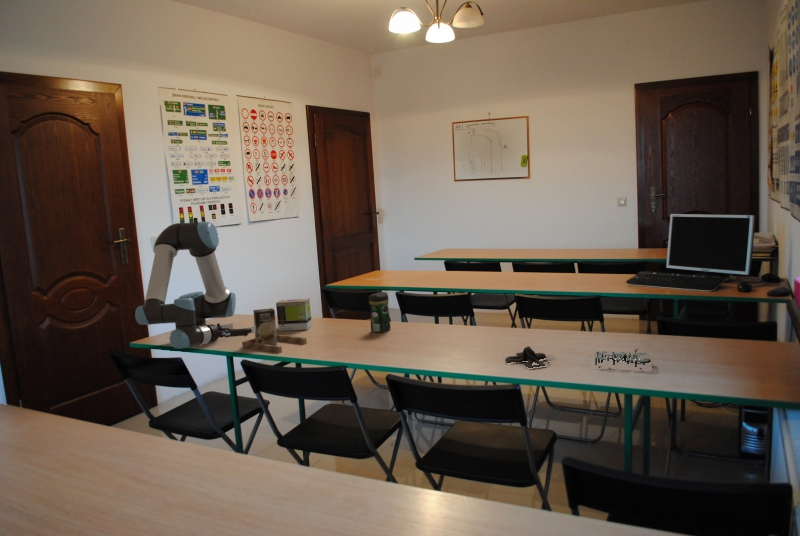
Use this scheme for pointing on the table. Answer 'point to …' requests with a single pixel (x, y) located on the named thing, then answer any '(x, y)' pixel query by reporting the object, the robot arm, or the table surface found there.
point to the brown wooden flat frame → (272, 348)
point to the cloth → (527, 358)
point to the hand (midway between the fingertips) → (243, 327)
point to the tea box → (294, 314)
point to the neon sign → (621, 357)
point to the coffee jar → (379, 312)
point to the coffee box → (265, 326)
